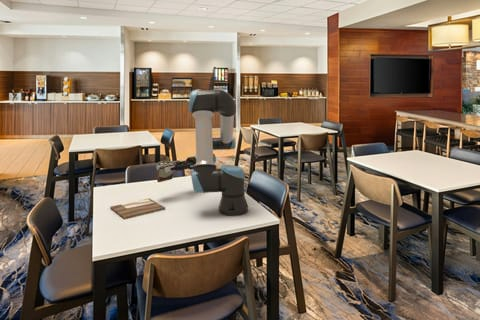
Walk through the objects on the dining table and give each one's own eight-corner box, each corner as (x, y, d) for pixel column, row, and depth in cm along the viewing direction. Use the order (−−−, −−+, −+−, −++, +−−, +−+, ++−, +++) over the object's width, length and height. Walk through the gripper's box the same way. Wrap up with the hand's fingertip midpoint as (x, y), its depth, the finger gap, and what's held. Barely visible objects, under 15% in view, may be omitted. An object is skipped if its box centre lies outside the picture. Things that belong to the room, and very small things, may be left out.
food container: (167, 173, 212) (170, 158, 208) (174, 178, 208) (176, 163, 204) (150, 177, 203) (152, 162, 199) (156, 183, 200) (158, 167, 195)
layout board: (165, 209, 189) (165, 206, 189) (124, 219, 176) (123, 216, 175) (149, 200, 204) (149, 197, 204) (110, 208, 191) (110, 206, 191)
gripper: (204, 170, 212) (172, 178, 196) (185, 166, 224) (153, 173, 207) (203, 158, 211) (171, 164, 194) (184, 154, 222) (152, 160, 206)
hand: (162, 169), depth 201 cm, fingers closed on food container, 4 cm apart
